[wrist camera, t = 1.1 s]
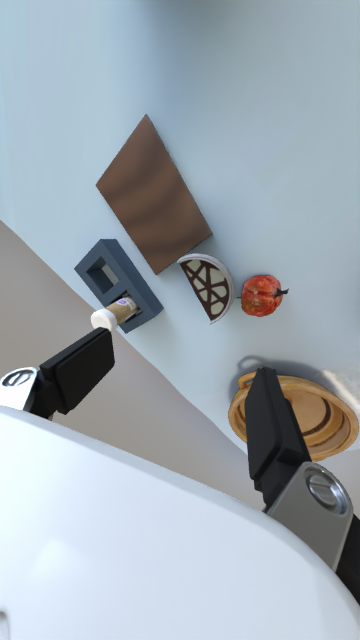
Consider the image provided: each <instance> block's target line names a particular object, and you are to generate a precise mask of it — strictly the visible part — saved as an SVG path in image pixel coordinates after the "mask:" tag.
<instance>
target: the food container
mask: <svg viewBox="0 0 360 640" xmlns="http://www.w3.org/2000/svg"><path fill="white" fill-rule="evenodd" d="M177 262H178V263H177V264H180V265H181V267H182V269H183V270H184V272H185V274H186V276H187V278H188V280H189V282H190V284H191V285H192V288H193V290H194V292H195V294H196V295H197V297H198V299H199V300H200V302H201V304H202V306H203V307H204V309H205V311H206V313H207V315H208V316H209V318H210V324H213V323H215V322H216V321H218V320H219V319H221V318H222V317H223V316H224V315H225V313H226V312H227V311H228V309H229V308H230V306H231V304H232V301H233V298H234V282H233V278H232V276H231V274H230V272H229V270H228V269H227V268H226V266H225V265H224V264H223V263H222V262H220V261H219V260H218V259H216V258H214V257H212V256H209V255H205V254H190V255H186V256H183V257H182V258H180V259H178V261H177Z"/></svg>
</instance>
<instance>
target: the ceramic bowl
mask: <svg viewBox="0 0 360 640" xmlns="http://www.w3.org/2000/svg"><path fill="white" fill-rule="evenodd" d="M256 372H257V371H255V372H251V373H248V374H246V375H243V376H241V377H240V378H239V380H238V385H239V387H240V390H239V391H238V392H237V393H236V395H235V396H234V398H233V400H232V403H231V405H230V408H229V411H228V419H229V423H230V426H231V427H232V429H233V431H234V432H235V433H236V435H237V436H238V437H239V438H240V439H242V440H243V441H244V442H245V443H247V436H246V423H245V411H244V402H245V399H246V396H247V394H248V391H249V389H250V387H251V384H252V382H253V381H251V382H249V383H247V384H246V383H244V382H245V381H247V380H249V379H252V378H254V377H255V374H256ZM277 377H278V380H279V383H280V386H281V389H282V392H283V395H284V398H287V399H288V400H289V401H290V403H291V405H292V408H293V410H294V413H295V416H296V418H297V421H298V424H299V427H300V429H301V432H302V435H303V438H304V440H305V443H306V446H307V448H308V451H309V454H310V457H311V459H312V461H315V462H318V461H322V460H324V459H325V458H326V457H329V456H333V455H335V454H338V453H340V452H342V451H344V450H345V449H347V448H348V447H349V446H350V445H351V444H352V443H353V442H354V441H355V439H356V438H357V436H358V432H359V423H358V419H357V417H356V415H355V413H354V412H353V410H352V409H351V408H350V407H349V406H348V405H347V404H346V403H344V402H343V401H342V400H341V399H339V398H338V397H337V396H336V395H334V394H333V393H332V392H330V391H329V390H328V389H326V388H324V387H323V386H321V385H319V384H317V383H315V382H312V381H309V380H306V379H303V378H299V377H294V376H285V375H277Z"/></svg>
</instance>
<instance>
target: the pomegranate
mask: <svg viewBox="0 0 360 640" xmlns="http://www.w3.org/2000/svg"><path fill="white" fill-rule="evenodd" d="M243 287H244V288H243V291H242V297H237V298H242V301H241V304H242V309H243V311H244V312H245V313H246V314H248V315H253V316H257V317H263V316H266V315H269V314H271V313H273V312H274V311H275V310H276V308H277V307H278V306H279V305H280V303H281V301H282V298H283V294H287V293H288V290H289V288H288V289H287V290H285V291H281V286H280V282H279V281H278V280H277V279H275V278H274V277H272V276H270V275H259V276H255V277H253V278H251V279H249V280H247V281H246V282H245V283H244V285H243Z"/></svg>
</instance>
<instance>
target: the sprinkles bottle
mask: <svg viewBox="0 0 360 640" xmlns="http://www.w3.org/2000/svg"><path fill="white" fill-rule="evenodd" d="M139 309H140V308H139V306H138V305H137V304H136V302H135V301H134V299H133V298H132V297H131V295H128V296H126V297H124V298H122V299H120V300H118V301H117V302H115V303H113V304H111V305H110V306H108V307H106V308H104V309H101V310H99V311H97V312H95V313H93V314H92V316H91V323H92V325H93V327H94V328H95V329H96V328H98V327H103V328H108V329H109V331H110V332H112V331H113V330H114V329H115V328H116V327H117V326H118V325H119V324H121V323H122V322H124V321H125V320H127V319H128V318H129V317H131V316H132V315H133V314H135V313H136V312H137V311H138V310H139Z"/></svg>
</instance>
